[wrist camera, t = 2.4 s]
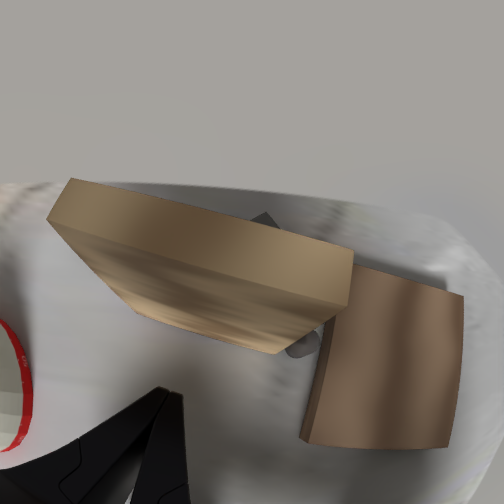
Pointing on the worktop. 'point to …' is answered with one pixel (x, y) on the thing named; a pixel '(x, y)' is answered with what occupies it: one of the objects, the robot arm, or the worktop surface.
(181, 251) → the light wooden board
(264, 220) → the stop block
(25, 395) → the kitchen timer
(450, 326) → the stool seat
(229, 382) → the worktop surface
